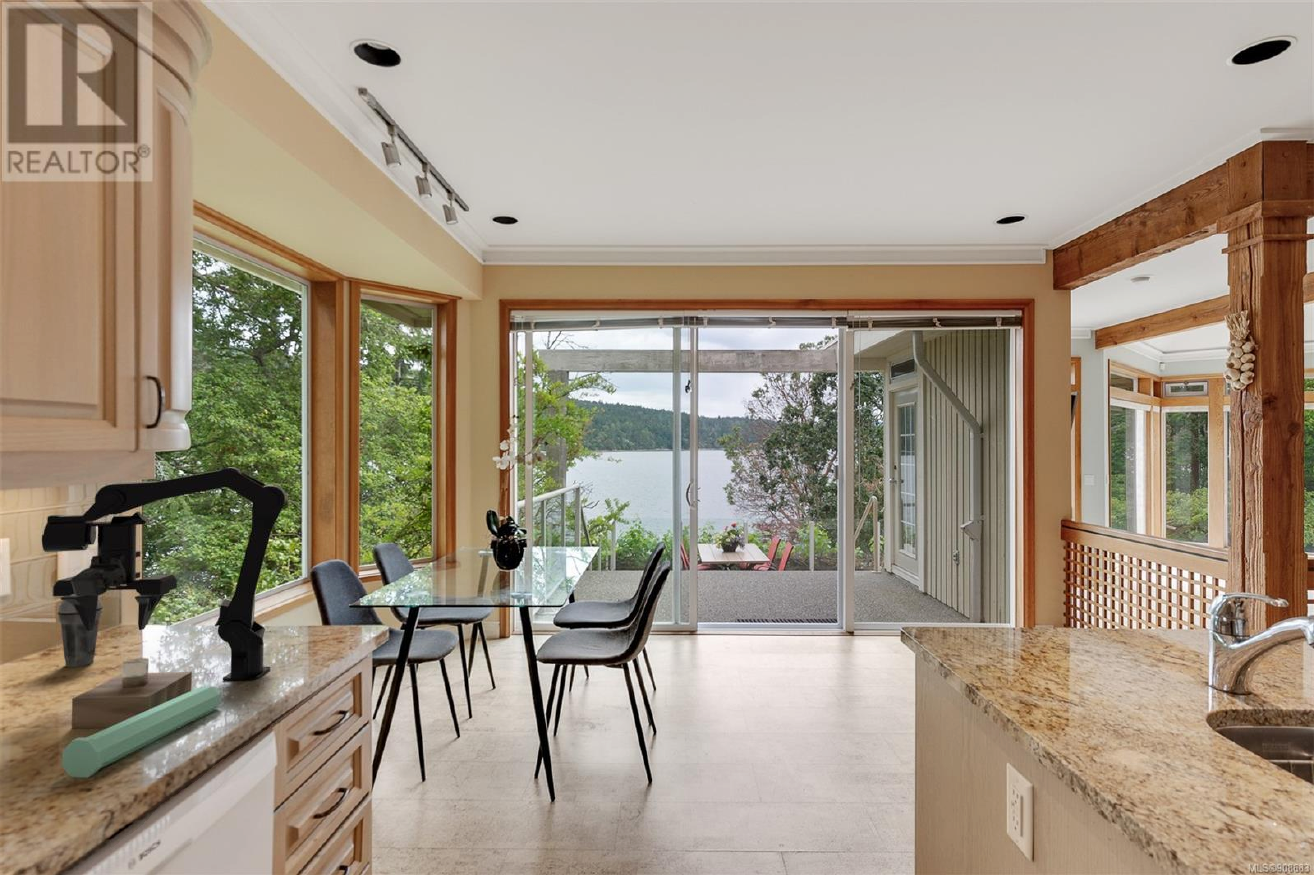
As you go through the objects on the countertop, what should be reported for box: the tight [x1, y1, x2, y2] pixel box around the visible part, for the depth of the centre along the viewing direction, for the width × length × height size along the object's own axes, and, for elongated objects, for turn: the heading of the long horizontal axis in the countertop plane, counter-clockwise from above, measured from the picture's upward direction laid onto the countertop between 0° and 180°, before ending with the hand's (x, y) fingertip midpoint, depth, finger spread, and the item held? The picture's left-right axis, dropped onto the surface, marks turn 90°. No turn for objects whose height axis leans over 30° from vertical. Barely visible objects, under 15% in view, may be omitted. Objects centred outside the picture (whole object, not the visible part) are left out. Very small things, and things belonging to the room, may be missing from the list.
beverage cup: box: [57, 596, 103, 668], centre depth 141 cm, size 7×7×20 cm
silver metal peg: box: [122, 657, 149, 688], centre depth 116 cm, size 4×4×8 cm
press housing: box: [71, 671, 193, 730], centre depth 116 cm, size 12×12×5 cm
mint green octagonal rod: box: [61, 685, 222, 778], centre depth 107 cm, size 6×6×25 cm
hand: (115, 630), depth 125 cm, fingers open, 9 cm apart
